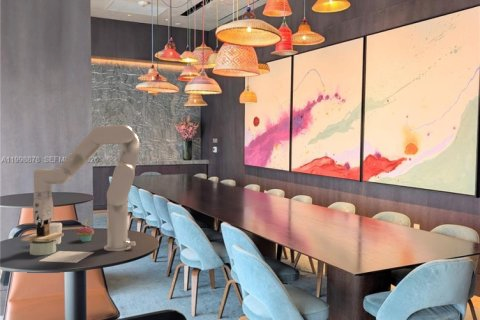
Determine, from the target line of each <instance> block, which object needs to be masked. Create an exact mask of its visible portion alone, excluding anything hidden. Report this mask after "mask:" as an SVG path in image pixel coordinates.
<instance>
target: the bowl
mask: <svg viewBox="0 0 480 320" xmlns="http://www.w3.org/2000/svg"><path fill="white" fill-rule="evenodd" d="M56 252H57V244H56V239H54V240H52V241H49V242H42V241H29V255H32V256H45V255H46V256H47V255H52V254H54V253H56Z"/></svg>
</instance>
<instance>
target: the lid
mask: <svg viewBox="0 0 480 320" xmlns="http://www.w3.org/2000/svg"><path fill="white" fill-rule="evenodd" d="M43 227H44V235H43V236H37V232H35V233H32V234H30V235H26V236H24V237H21V239H20V241H21V242H30V241H42V242H49V241H52V240H54V239H56V238H59V237H61V238H62V237H64V234H65V233H64V232H62V233H50V224H43ZM35 228H36V229H37V227H36V226H35Z"/></svg>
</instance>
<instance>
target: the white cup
mask: <svg viewBox="0 0 480 320" xmlns="http://www.w3.org/2000/svg"><path fill="white" fill-rule="evenodd" d="M62 231H63V224H62V222H50V233H63V232H62ZM61 243H62V236H61V237H59V238H56V245H60V244H61Z"/></svg>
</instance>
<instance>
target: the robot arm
mask: <svg viewBox="0 0 480 320" xmlns="http://www.w3.org/2000/svg"><path fill="white" fill-rule="evenodd" d="M115 144H116V145H117V144H121V151H120V154H119V158H118V162H117V165H116V166H115V168H114V170H113V174H112V176H111V181H110V183H109V185H108V189H107V190H106V191H107V192H106V201H107V203H106V204H107V205H106V207H107V209H106V210H107V211H106V212H107V216H106V217H107V219H106V225H107V226H106V227H107V228H106V234H107V236H106V237H107V239H106V243H107V244H106V245H104V247H103V250H104V251H108V252H122V251H127V250H131V247H132V246H133V247H135V246H136V241H135V240H134V241H133V240H132V241H131V240H130V238H129V235H128V234H129V232H128V228H129V227H128V224H129V223H128V218H129V217H128V216H129V215H128V214H129V210H128V207H129V205H128V204H129V203H128V200H129V199H128V198H129V195H130V192H131V190H132V185H133V182H134V179H135V175H136V174H135V173H136V172H135V171H136V166H137V164H138V159H139V156H140V151H141V143H140V139H139V137H138V135H137V134H136V132H135V131H134V130H133V128H132V127H131V126H130V125H126V124H123V125H122V124H121V125H119V124H118V125H103V126H102V125H101V126H99V125H97V126H94V127H93V128H92V129H90V130H89V133H88V134H87V135H86V136H85V137H84V138H83V139H82V140H81V141H80V142H79V143H78V144H76V146H74V148H73V150H72V152H71V154H70V155H69V156H68V157H67V158H66V160H65V161H64V162H63V163H62V164H61V165H60V166H58V167H57V168H53V169H50V168H36V169H34V170H33V205H32V206H33V207H32V218H33V219H32V221H33V222H32V223H34V225H35V228H36V227H37V228H36V233H37V236H43V235H44V227H43V224H50V223H51V221H52V219H53V218H54V217H55V216H54V215H55V210H54V200H53V197H52V195H53V194H52V193H53V192H52V190H53V189H52V188H53V187H52V185H56V186H57V185H58V186H59V185H64V184H65V183H67V182H68V181H69V180H71V179H72V178H73V176H74V175H75V174H77V172H78V171H79V170H80V169H81V168H82V167H83V166H84V165H86V164H87V163H88V161H90V160H91V159H92V158H93V157H94V156H95V155H96V154H97V152H98V151H99V150H100V149H101V148H102V147H103V146H104V145H115Z"/></svg>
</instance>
